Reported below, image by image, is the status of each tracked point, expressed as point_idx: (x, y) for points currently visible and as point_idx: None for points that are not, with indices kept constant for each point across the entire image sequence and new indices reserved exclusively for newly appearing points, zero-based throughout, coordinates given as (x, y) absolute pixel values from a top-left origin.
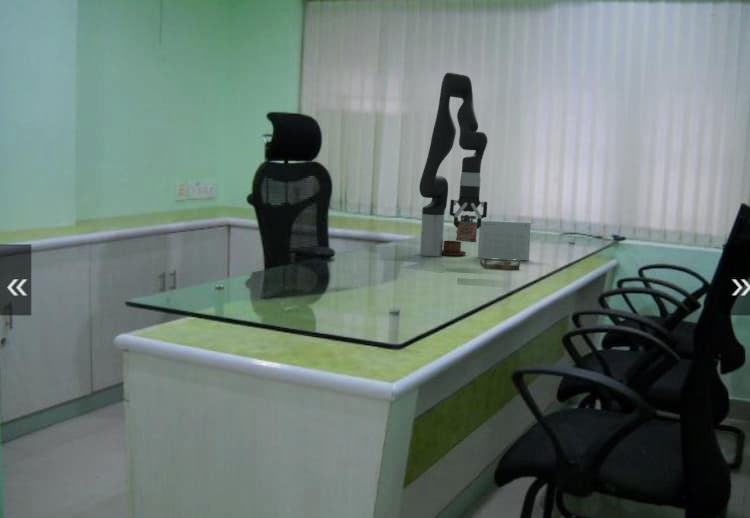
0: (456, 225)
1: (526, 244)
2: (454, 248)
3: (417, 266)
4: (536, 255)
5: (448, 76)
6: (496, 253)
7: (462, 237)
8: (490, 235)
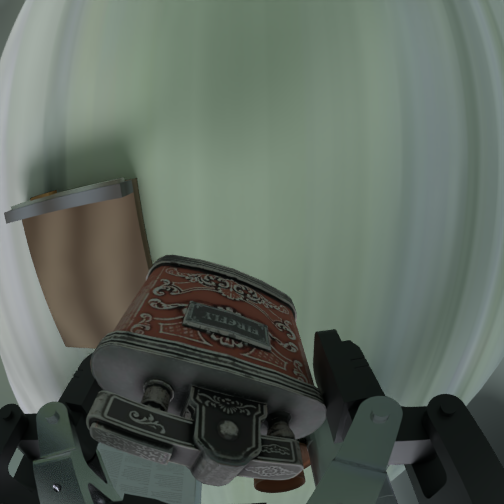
0: (331, 337)
1: None
2: None
3: (420, 103)
4: None
5: None
6: None
7: (251, 291)
8: (159, 492)
